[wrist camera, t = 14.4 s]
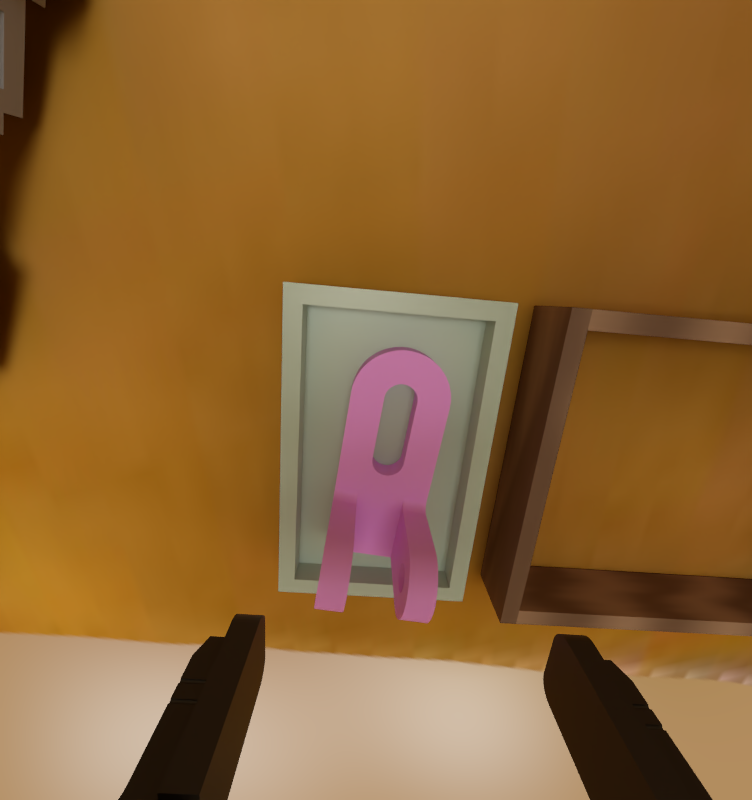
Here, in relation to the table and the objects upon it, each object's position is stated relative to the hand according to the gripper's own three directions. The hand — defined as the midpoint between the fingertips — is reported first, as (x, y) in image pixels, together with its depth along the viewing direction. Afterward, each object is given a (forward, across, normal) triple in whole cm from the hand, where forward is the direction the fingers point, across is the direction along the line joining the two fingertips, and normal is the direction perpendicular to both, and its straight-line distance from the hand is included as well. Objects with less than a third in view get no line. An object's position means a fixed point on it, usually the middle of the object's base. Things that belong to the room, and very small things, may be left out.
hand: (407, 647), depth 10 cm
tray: (+14, 0, 0) cm, 14 cm away
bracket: (+13, 0, 0) cm, 13 cm away
